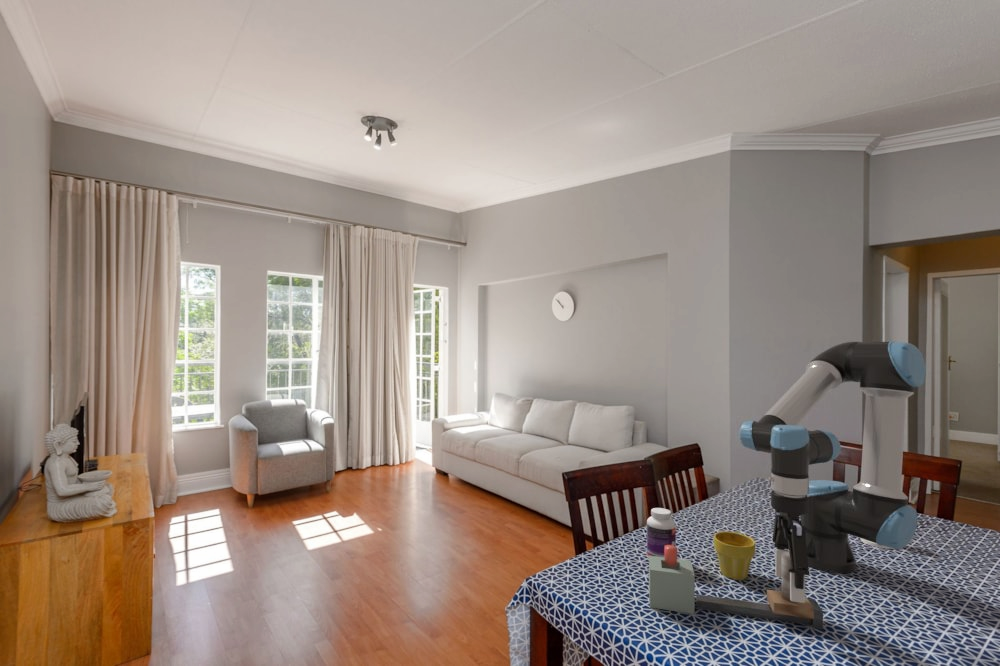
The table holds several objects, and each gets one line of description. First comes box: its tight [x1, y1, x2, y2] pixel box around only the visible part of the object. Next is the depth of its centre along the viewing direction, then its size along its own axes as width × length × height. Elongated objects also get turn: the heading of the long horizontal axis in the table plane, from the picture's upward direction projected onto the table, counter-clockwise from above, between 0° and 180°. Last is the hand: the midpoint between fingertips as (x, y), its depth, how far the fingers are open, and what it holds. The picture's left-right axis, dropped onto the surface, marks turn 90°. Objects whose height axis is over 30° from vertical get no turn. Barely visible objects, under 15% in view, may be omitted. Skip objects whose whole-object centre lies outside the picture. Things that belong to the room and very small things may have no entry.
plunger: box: [664, 545, 678, 567], centre depth 119 cm, size 3×3×4 cm
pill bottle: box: [646, 507, 677, 560], centre depth 141 cm, size 8×8×14 cm
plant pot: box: [713, 530, 756, 581], centre depth 133 cm, size 10×10×10 cm
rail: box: [695, 593, 824, 630], centre depth 114 cm, size 26×5×4 cm, turn 75°
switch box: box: [648, 556, 696, 615], centre depth 119 cm, size 10×8×9 cm
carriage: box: [766, 552, 814, 619], centre depth 112 cm, size 8×6×12 cm
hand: (789, 588), depth 112 cm, fingers open, 11 cm apart
